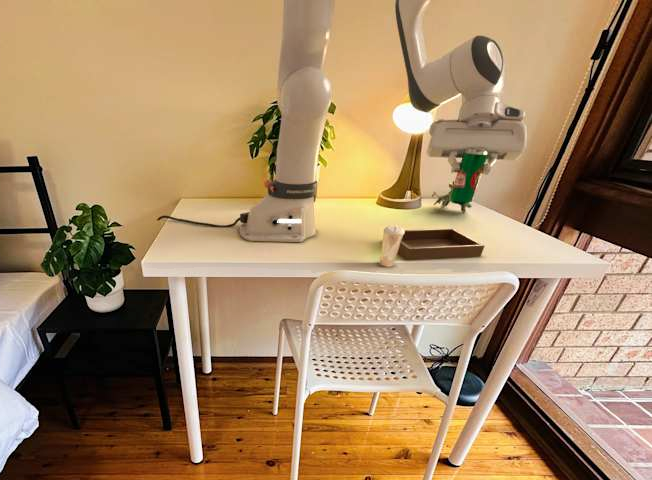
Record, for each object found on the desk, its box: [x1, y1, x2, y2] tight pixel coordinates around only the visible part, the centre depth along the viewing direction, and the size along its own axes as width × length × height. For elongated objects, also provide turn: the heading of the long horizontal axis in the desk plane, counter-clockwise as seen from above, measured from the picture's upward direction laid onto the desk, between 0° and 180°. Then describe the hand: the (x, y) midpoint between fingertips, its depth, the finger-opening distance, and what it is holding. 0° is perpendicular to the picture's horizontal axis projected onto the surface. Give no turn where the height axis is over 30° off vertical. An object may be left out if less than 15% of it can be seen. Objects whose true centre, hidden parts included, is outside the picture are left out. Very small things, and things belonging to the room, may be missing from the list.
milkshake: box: [378, 225, 405, 268], centre depth 86 cm, size 4×5×10 cm
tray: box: [397, 227, 486, 261], centre depth 97 cm, size 20×14×3 cm
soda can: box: [449, 147, 488, 205], centre depth 88 cm, size 5×5×12 cm
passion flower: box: [431, 180, 473, 214], centre depth 124 cm, size 11×11×12 cm
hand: (470, 172), depth 87 cm, fingers closed on soda can, 5 cm apart
